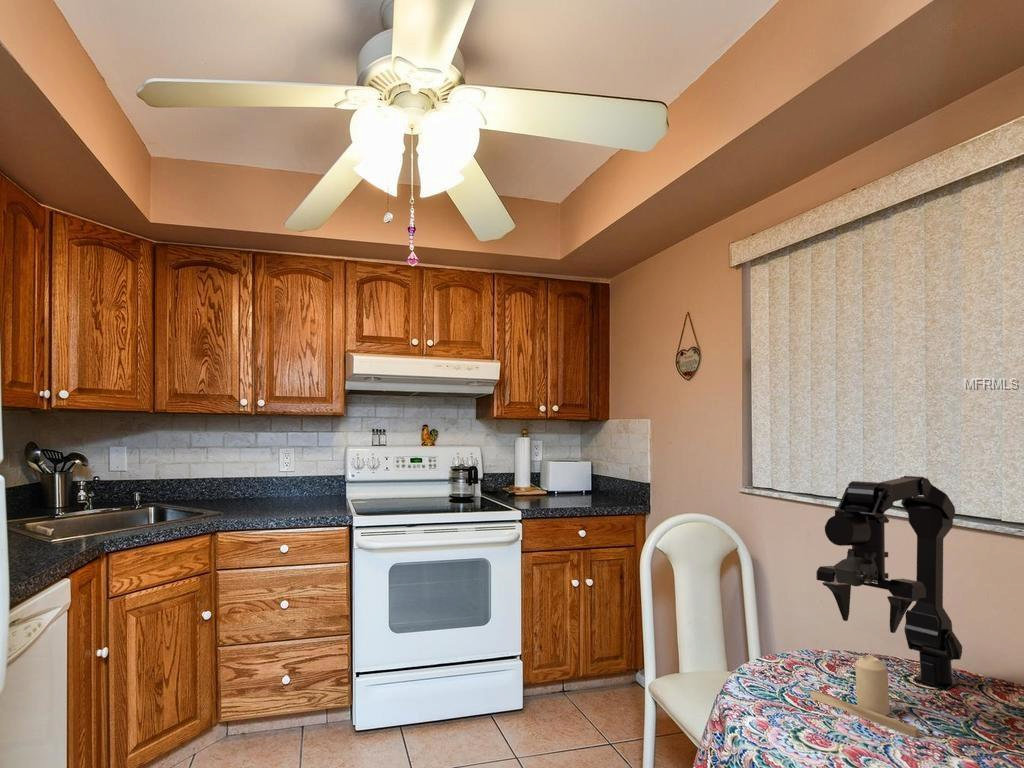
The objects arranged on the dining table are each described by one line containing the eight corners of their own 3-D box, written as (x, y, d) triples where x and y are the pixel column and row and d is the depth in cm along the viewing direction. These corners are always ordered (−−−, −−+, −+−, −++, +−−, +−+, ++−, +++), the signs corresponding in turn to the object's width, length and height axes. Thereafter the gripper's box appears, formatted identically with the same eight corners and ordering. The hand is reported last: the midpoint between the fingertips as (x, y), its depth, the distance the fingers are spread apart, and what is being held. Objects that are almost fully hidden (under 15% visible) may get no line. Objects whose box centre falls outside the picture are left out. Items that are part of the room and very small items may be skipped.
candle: (894, 717, 119) (891, 663, 120) (862, 715, 120) (860, 661, 121) (883, 705, 124) (880, 653, 125) (853, 703, 125) (850, 651, 126)
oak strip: (814, 696, 129) (814, 690, 129) (919, 735, 112) (919, 728, 112) (810, 698, 128) (810, 691, 128) (915, 737, 111) (915, 730, 111)
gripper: (800, 539, 129) (799, 617, 127) (895, 553, 113) (896, 643, 111) (832, 538, 135) (831, 614, 133) (926, 552, 119) (928, 638, 117)
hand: (868, 626), depth 123 cm, fingers open, 9 cm apart
